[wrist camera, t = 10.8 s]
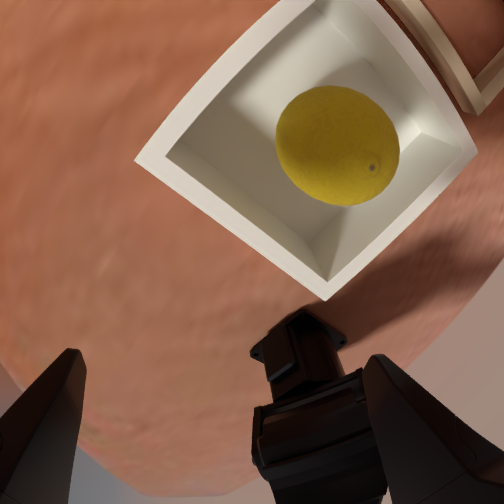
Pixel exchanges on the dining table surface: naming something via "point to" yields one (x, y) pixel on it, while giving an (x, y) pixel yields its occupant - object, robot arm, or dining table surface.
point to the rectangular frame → (451, 59)
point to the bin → (264, 129)
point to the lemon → (337, 145)
